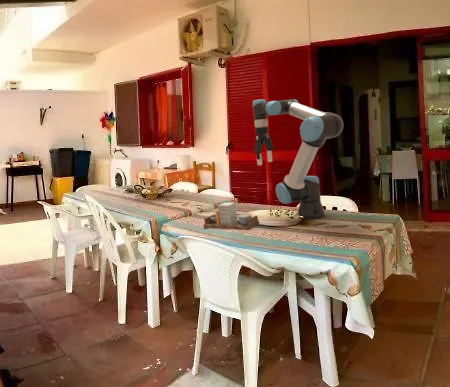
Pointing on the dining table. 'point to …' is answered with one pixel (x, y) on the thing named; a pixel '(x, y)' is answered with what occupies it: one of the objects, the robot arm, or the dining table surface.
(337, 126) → the robot arm
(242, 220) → the jar
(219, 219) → the block
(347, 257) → the dining table surface
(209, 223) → the brown tray
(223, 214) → the supplement box
